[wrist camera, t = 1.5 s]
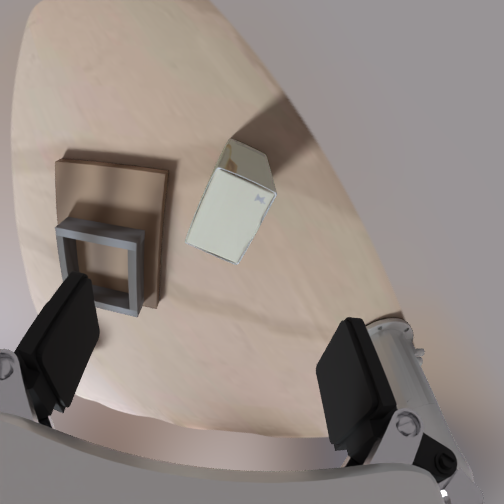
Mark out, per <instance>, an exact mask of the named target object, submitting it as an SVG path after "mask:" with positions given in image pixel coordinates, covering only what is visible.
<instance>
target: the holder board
mask: <svg viewBox="0 0 504 504" xmlns="http://www.w3.org/2000/svg"><path fill="white" fill-rule="evenodd" d="M168 173H169V171H167V170H160V169H153V168H146V167H138V166H130V165H122V164H113V163H104V162H95V161H84V160H73V159H60V160H58V161H56V162H55V187H56V208H57V221H58V225H57V226H56V227H55V230H56V239H57V247H58V254H59V261H60V267H61V273H62V279H63V282H64V280H65V279H66V278H67V276H68V275H69V274H70V273H71V272H72V271H76V272H80V273H84V274H87V276H88V279H91V281H92V288H93V295H94V302H95V307H97V308H101V309H105V310H109V311H113V312H117V313H121V314H126V315H130V316H134V317H138V315H139V313H140V310H141V308H142V306H145V307H150V308H154V309H157V306H158V303H159V286H160V263H161V247H162V233H163V221H164V210H165V200H166V190H167V182H168Z"/></svg>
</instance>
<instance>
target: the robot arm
mask: <svg viewBox="0 0 504 504" xmlns="http://www.w3.org/2000/svg"><path fill="white" fill-rule="evenodd" d="M99 334H100V330H99V325H98V319H97V314H96V308H95V302H94V295H93V288H92V281H91V279H88V276H87V274H84V273H80V272H76V271H72V272H71V273H70V274H69V275H68V276H67V278H66V279H65V280H64V282H63V283H62V284H61V286H60V287H59V288H58V290H57V291H56V292H55V294H54V295H53V296H52V298H51V299H50V301H49V302H47V303H46V304H45V306H44V307H43V309H42V310H41V312H40V313H39V315H38V316H37V318H36V319H35V320H34V322H33V324H32V325H31V327H30V328H29V329H28V331H27V333H26V334H25V336H24V337H23V339H22V340H21V342H20V344H19V345H18V347H17V349H16V350H15V352H12V351H10V350H7V349H0V504H483V500H484V497H483V493H482V491H481V490H480V489H479V488H478V487H477V485H476V484H475V483H474V479H473V474H472V471H471V469H470V467H469V464H468V463H467V461H466V459H465V458H464V456H463V454H462V452H461V451H460V449H459V447H458V445H457V444H456V442H455V440H454V438H453V436H452V435H451V432H450V430H449V428H448V425H447V423H446V421H445V419H444V417H443V414H442V412H441V410H440V407H439V405H438V403H437V401H436V398H435V396H434V394H433V392H432V389H431V387H430V385H429V383H428V381H427V379H426V376H425V374H424V372H423V370H422V368H421V365H422V358H421V357H416V356H423V355H424V349H415V347H414V345H413V343H412V341H413V330H412V328H411V327H410V325H409V324H408V322H406V321H405V320H402V319H399V318H387V319H383V320H379V321H376V322H374V323H371V324H369V325H367V326H365V324H364V321H363V320H362V319H361V318H351V317H347V318H346V319H345V320H344V321H341V323H340V324H339V326H338V328H337V330H336V332H335V334H334V335H333V337H332V339H331V341H330V343H329V344H328V346H327V348H326V350H325V352H324V353H323V355H322V357H321V359H320V360H319V362H318V364H317V366H316V375H317V379H318V384H319V389H320V394H321V399H322V403H323V408H324V413H325V418H326V423H327V429H328V434H329V439H330V442H331V444H334V447H335V451H337V450H347V452H348V457H347V458H346V460H345V461H344V463H343V465H342V466H341V468H332V469H319V470H305V471H276V472H275V471H240V470H225V469H214V468H205V467H197V466H189V465H182V464H176V463H171V462H165V461H159V460H155V459H150V458H145V457H141V456H137V455H132V454H128V453H124V452H121V451H117V450H114V449H110V448H107V447H103V446H100V445H97V444H94V443H91V442H88V441H85V440H82V439H79V438H76V437H73V436H71V435H68V434H65V433H63V432H60V431H58V430H56V429H55V427H54V424H53V422H52V419H51V416H50V415H51V414H52V411H53V409H54V410H57V411H59V412H62V413H64V410H65V407H69V406H70V404H71V402H72V400H73V397H74V394H75V392H76V389H77V387H78V384H79V382H80V379H81V377H82V375H83V372H84V370H85V368H86V365H87V363H88V361H89V358H90V356H91V354H92V352H93V349H94V347H95V345H96V343H97V341H98V338H99Z"/></svg>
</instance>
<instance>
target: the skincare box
mask: <svg viewBox="0 0 504 504" xmlns="http://www.w3.org/2000/svg"><path fill="white" fill-rule="evenodd" d="M276 195H277V192H276V188H275V184H274V181H273V177H272V174H271V170H270V166H269V163H268V159H267V156H266V154H264V153H262V152H260V151H258V150H256V149H254V148H252V147H250V146H248V145H246V144H244V143H241V142H239V141H236V140H234V139H231V138H230V139H229V140H228V142H227V144H226V146H225V147H224V149H223V151H222V153H221V155H220V157H219V159H218V161H217V164H216V166H215V168H214V170H213V173H212V175H211V177H210V180H209V182H208V184H207V186H206V189H205V191H204V193H203V196H202V198H201V200H200V203H199V205H198V207H197V210H196V212H195V215H194V218H193V220H192V223H191V225H190V228H189V231H188V234H187V237H186V239H185V243H186V244H188V245H191V246H193V247H195V248H197V249H199V250H202V251H204V252H206V253H208V254H211V255H213V256H215V257H218V258H220V259H222V260H225V261H227V262H230V263H232V264H234V265H237V264H239V263H240V261H241V259H242V257H243V256H244V254H245V252H246V250H247V248H248V247H249V245H250V243H251V241H252V240H253V238H254V236H255V234H256V232H257V231H258V229H259V227H260V225H261V223H262V221H263V219H264V217H265V216H266V214H267V212H268V210H269V208H270V207H271V205H272V203H273V201H274V199H275V197H276Z"/></svg>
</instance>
